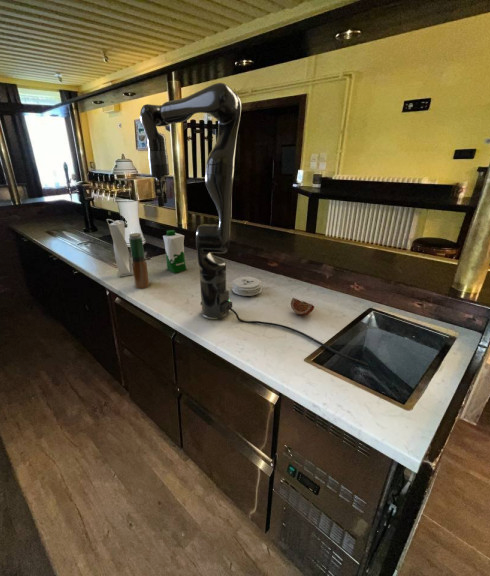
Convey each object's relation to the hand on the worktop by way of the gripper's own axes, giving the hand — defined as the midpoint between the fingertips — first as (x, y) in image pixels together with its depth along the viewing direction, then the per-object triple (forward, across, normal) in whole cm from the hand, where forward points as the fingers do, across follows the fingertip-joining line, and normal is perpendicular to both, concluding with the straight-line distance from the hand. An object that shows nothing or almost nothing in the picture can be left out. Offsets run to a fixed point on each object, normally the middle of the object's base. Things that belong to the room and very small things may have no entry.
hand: (163, 204), depth 126 cm
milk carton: (+35, -15, +1) cm, 38 cm away
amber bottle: (+35, +4, -13) cm, 38 cm away
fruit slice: (+36, +32, +52) cm, 71 cm away
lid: (+35, +13, +34) cm, 51 cm away
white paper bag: (+35, -12, -25) cm, 45 cm away
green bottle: (+21, +4, -13) cm, 25 cm away
